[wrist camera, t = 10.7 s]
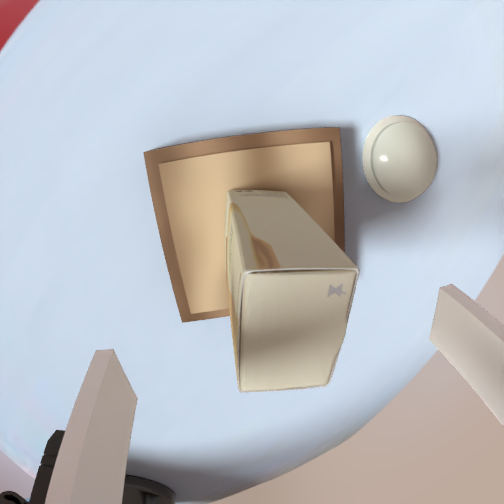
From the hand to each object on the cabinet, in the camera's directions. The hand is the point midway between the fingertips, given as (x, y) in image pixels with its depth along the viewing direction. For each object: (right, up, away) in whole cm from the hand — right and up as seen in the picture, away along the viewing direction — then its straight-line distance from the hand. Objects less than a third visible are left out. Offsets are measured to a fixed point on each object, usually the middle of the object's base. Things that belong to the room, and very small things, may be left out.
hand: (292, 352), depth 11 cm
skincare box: (-1, +5, +12) cm, 13 cm away
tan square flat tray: (-2, +6, +14) cm, 16 cm away
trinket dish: (+12, +12, +14) cm, 22 cm away
